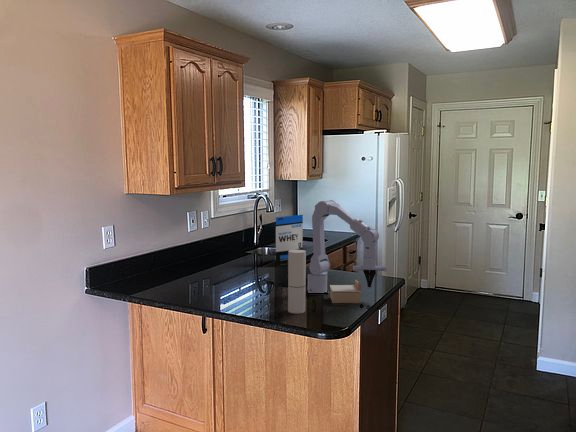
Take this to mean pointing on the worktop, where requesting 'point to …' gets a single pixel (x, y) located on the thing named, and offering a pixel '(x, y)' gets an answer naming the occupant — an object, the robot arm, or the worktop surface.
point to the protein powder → (288, 237)
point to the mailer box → (345, 297)
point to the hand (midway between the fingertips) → (369, 286)
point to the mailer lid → (346, 287)
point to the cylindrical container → (296, 281)
